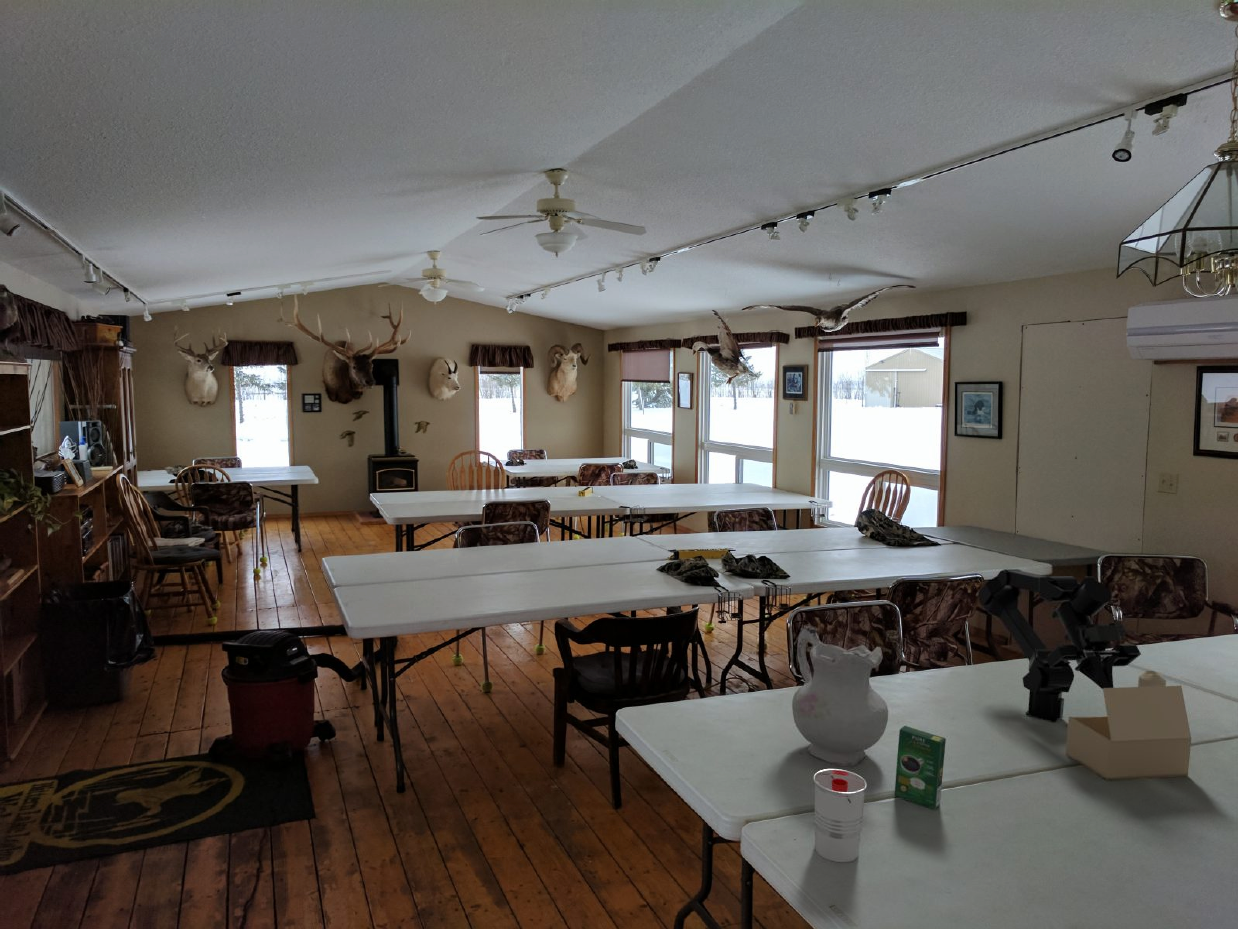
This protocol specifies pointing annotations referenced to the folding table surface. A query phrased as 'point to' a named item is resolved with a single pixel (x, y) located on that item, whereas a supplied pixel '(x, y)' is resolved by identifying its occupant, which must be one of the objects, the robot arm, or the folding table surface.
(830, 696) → the ceramic pitcher
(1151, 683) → the candle
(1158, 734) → the carton flap
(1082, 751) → the carton
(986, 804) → the folding table surface
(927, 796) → the coffee box
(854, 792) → the striped cup with float
